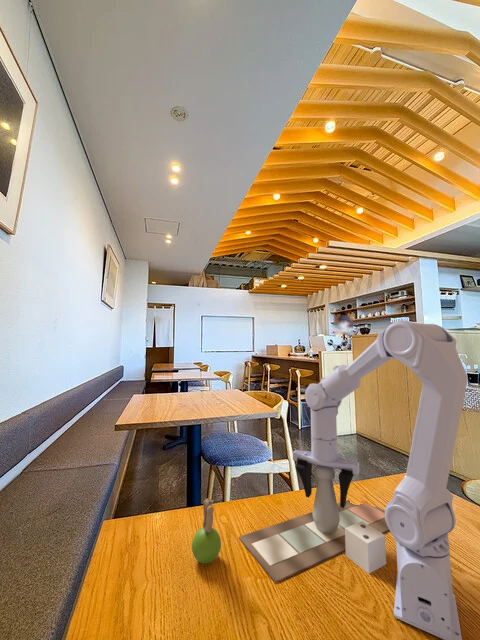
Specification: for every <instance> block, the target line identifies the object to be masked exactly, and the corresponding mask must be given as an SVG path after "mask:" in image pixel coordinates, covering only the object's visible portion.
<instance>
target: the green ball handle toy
mask: <svg viewBox="0 0 480 640" xmlns="http://www.w3.org/2000/svg"><path fill="white" fill-rule="evenodd" d="M214 503H215V500H213V499H212V500H211V499H210V498H205V499H204V500H203V507H202V508H203V522H202V527H201V528H200V529H198V530H197V532H196V533H195V534H194V536H193V538H192V542H191V551H192V555H193V557H194V558H195V560H196V561H197V562H199V563H200V564H202V565H203V564H205V565H208V564H210V563H212V562H214V561H215V560H216V559H217V557H219V554H220V552H221V548H222V540H221V536H220V533H219V532H218V531H217V529H216V528H214V527H213V523H214V512H215V510H214Z"/></svg>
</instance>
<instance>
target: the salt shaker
mask: <svg viewBox="0 0 480 640" xmlns="http://www.w3.org/2000/svg"><path fill="white" fill-rule="evenodd" d="M314 474H315V477H316V478H317V483H316V484H317V485H316V488H315V489H316V491H315V496H314V503H313V510H312V512H313V513H312V515H313V519H314V522H315V525H316V527H317V529H318V530H319V531H321V532H322V533H324V534H333V533H334V532H335V531H336V530H337V527H338V524H339V522H340V516H339V511H338V506H337V498H336V491H335V487H334V482H333V480H334V479H335V476H336V472H335V469H334V468H329V467H325V466H320V465H316V466H315V467H314Z"/></svg>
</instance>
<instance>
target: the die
mask: <svg viewBox="0 0 480 640" xmlns="http://www.w3.org/2000/svg"><path fill="white" fill-rule="evenodd" d="M345 546H346V551H345V557H346V558H348V559H349V560H350V561H352V562H353V563H354V564H356V565H357V566H358V567H359V568H360V569H362V570H363V571H364V572H366V573H367V574H371V573H373V572H375V571H377V570H378V569H380V568H382V567H384V566H386V565H387V552H386V551H387V549H386V535H385V533H383V534H382V533H381V532H379V531H377V530H376V529H374V528H372V527H371V526H369V525H367V524H366V523H364V522H362V521H361V522H359V523H356V524H354V525H351V526H349V527H346V528H345Z"/></svg>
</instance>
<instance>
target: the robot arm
mask: <svg viewBox="0 0 480 640" xmlns="http://www.w3.org/2000/svg"><path fill="white" fill-rule="evenodd" d="M391 360H398V361H399V362H400V363H402V364H403V365H404V366H406V367H407V368H409V370H411V371H412V372H413V373H414V374H415V375H416V376H417V377H418V379H419V381H421V383H422V386H421V387H422V388H421V391H420V392H421V393H420V397H419V401H418V402H419V403H418V408H417V414H416V420H415V425H414V431H413V434H412V440H411V447H410V451H409V456H408V462H407V467H406V473H405V475H404V477H403V479H402V480H401V481H400V482H399V484H398V485H397V486H396V487H395V489H394V493H393V497H392V499H391V500H390V501H389V502H387V504H386V506H385V508H384V511H385V520H386V523H387V526H388V528H389V530H390V531H389V532H390V534H391V535H392V536H393V539H394V541H395V547H396V550H395V551H396V564H397V565H396V566H397V574H396V583H395V585H396V586H395V593H394V594H395V595H394V606H393V607H394V608H393V616H394V617H395V619H398V620H400V621H402V622H404V623H406V624H409V625H411V626H413V627H415V628H417V629H420V630H421V631H424V632H427V633H428V634H431V635H433V636H434V637H437V638H440V639H441V640H463V637H462V632H461V626H460V619H459V612H458V606H457V601H456V600H457V599H456V596H455V594H454V592H453V591H454V590H453V580H452V569H451V567H452V565H451V553H450V552H451V551H450V543H449V533H451V532H453V531H454V529H455V527H456V522H457V521H456V520H457V519H456V514H455V512H454V508H453V499H454V494H452V493H451V491H450V490H449V489H448V488H447V486H448V482H449V476H450V472H451V467H452V461H453V456H454V450H455V445H456V441H457V436H458V431H459V426H460V420H461V416H462V410H463V407H464V405H463V404H464V400H465V397H466V396H465V395H466V389H467V385H468V375H467V372H466V370H465V368H464V367H465V366H464V365H463V362H462V360H461V358H460V355H459V352H458V351H457V339H456V338H455V337H454V336H453V335H451V334H450V333H449V332H448V331H447V330H446V329H445V328H443V327H442V326H440V325H439V324H435V323H434V324H433V323H420V322H411V321H409V320H405V319H403V320H396V321H394V322H391V323H390V324H389V325H388V326H387V328H386V329H383V330H382V331H380V332H379V333H378V334H377V337H376V339H375V340H374V341H373V342H372V343H371V344H370V345H369V346H368V347H367V348H366V349H364V351H362V353H361V354H359V355H358V356H357V357H356V358H355V359H354V360H353V361H352V362H351V363H350V364H349V365H346V364H340V365H335V366H334V367H332V370H333V371H331V372H330V373H329V374H328V375H327V376H326V377H322V378H321V379H320V382H318V383H309V384H308V386H307V387H306V389H305V392H304V399H305V402H306V405H307V406H308V407H309V408H310V440H311V441H310V442H311V443H310V444H311V445H310V446H311V447H310V448H311V449H310V450H311V451H307V450H299V449H294V451H292V461H294V462H297V463H296V464H295V470H296V471H297V473H298V476H299V477H300V480H301V482H302V485H303V489H304V493H305V497H306V498H308V499H309V498H310V497H311V496H312V491H313V487H312V486H313V485H312V468H313V465H316V466H317V465H320V466H325V467H329V468H333V469H334V470H339V471H340V472H339V474H338V483H339V492H340V493H339V494H340V496H339V497H340V498H339V503H340V507H342V508H344V507H345V505H346V500H347V497H348V491H349V488H350V485H351V483H352V480H353V478H354V475H355V476H358V475H359V474H360V462H358V461H357V462H356V461H353V460H351V459H350V460H349V459H347V458H343V457H341V456H338V431H337V430H338V429H337V416H338V415H339V407H340V406H341V405H342V400H344V398H346V397H347V396H349V395H351V393H353V392H355V391H356V390H357V389H359V388H360V387H361V379H362V378H364V377H366V376H367V375H369V374H370V373H372V372H374V370H377V369H378V368H380V367H381V366H382V365H384V364H386V363H387V362H389V361H391Z"/></svg>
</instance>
